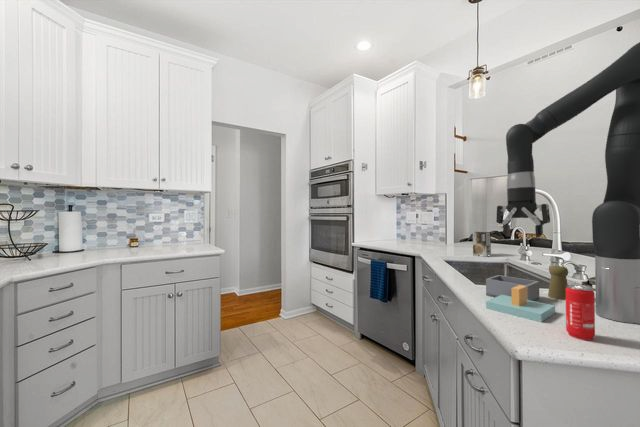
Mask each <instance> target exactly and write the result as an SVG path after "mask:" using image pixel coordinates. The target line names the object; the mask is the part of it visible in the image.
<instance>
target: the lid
mask: <svg viewBox="0 0 640 427" xmlns="http://www.w3.org/2000/svg"><path fill="white" fill-rule="evenodd" d="M511 292H512V297H511V296H506V295H500V296H497V297H492V298H491V299H487V300H486V301H485V308H486V309H488V310H492V311H497V312H501V313H504V314H508V315H512V316H517V317H520V318H524V319H528V320H531V321H535V322H540V323H542V322H543V321H545V320H547V319H548V318H550V317H551V316H553V315H554V314H555V313H556V305H552V304H548V303H544V302H539V301H530V300H527V286H522V285H518V286H516V287H513V288H511Z"/></svg>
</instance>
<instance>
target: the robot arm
mask: <svg viewBox="0 0 640 427" xmlns="http://www.w3.org/2000/svg"><path fill="white" fill-rule="evenodd" d="M614 91H615V102H614V107H613V111H612V115H611V119H610V121H609V126H608V127H609V128H608V132H607V135H606V136H607V138H606V144H605V149H604V161H605V170H606V179H607V180H606V181H607V184H606V190H605V194H604V198H603V201H602V203H601V204H598V206H596V207H595V208H594V210H593V212H592V217H591V218H592V219H591V230H592V245H593V247H594V254H595V255H594V257H595V260H594V261H595V262H594V263H595V264H594V265H595V267H594V268H595V271H594V272H595V274H594V276H595V279H594V280H595V315H597V316H599V317H602V318H604V319H608V320H612V321H616V322H622V323H632V324H637V325H640V41H639V42H638V43H636V44H634V45H633V46H632V47H630V48H629V49H628V50H627V51H626V52H624V54H622V55H621V56H619V58H618V59H616V60H615V61H613V62H612V63H611V64H610V65H608V66H607V67H606V68H604V69H603V70H602V71H600V72H599V73H597V74H596V75H595V76H593V77H591V78H590V79H589V80H588V81H586V82H584V83H583V84H581V85H580V86H578V87H576V88H575V89H573V90H572V91H570V92H569V93H566V94H565V95H564V96H562V97H561V98H559V99H557V100H556V101H554V102H553V103H551V104H549V105H547V106H546V107H544V108H543V109H542V110H540V111H539V112H538V113H536V115H535V116H534V117H533V118H532V119H531V120H528V121H527V122H526V123H518V124H517V123H516V124H515V125H513V126H511V127H510V128H509V129H508V130H507V132H506V135H505V144H506V152H507V167H506V168H507V179H506V192H507V193H506V196H507V205H497V206H496V219H495V220H496V223H497V224H501V225H502V231H503V232H502V233H503V235H504V236H505V237H510V236H511V224H510V223H511V222H512V220H514V219H521V218H522V219H530V220H531V221H532V222H534V224H535V238H541V236H543V234H544V229H543V226H544V225H545V224H549V223H550V222H551V217H550V216H551V215H550V207H549V206H550V205H549V204H548V203H542V204H537V202H536V198H537V197H536V178H535V166H534V162H535V161H534V156H533V144H534V143H535V142H537V141H538V140H540V139H541V138H543V137H544V136H545V135H547V134H548V133H550V132H551V131H553V130H554V129H555V130H556V129H557V128H558V127H561V126H562V125H564V124H566V123H567V122H569V121H570V120H572V119H574V118H575V117H577V116H578V115H579V114H581V113H583V112H585V111H586V110H587V109H588V108H590V107H592V106H593V105H595V104H596V103H597V102H599V101H600V100H602V99H603V98H605V97H606V96H607V95H610V94H611V93H612V92H614ZM537 209H538V210H539V212H541V218H542V219H540V218H539V216H538V215H537V214H536V213H535V212H536V211H537ZM506 210H507V212H508V214H507V215H506V217H505V219H504V213H505V212H506Z"/></svg>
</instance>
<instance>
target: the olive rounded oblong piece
mask: <svg viewBox="0 0 640 427" xmlns="http://www.w3.org/2000/svg"><path fill="white" fill-rule="evenodd" d="M548 273H549V274H550V280H549V285H548V286H549V287H548V292H547V293H548V294H547V297H549V298H551V299H554V300H560V301H566V288H567V285H569V284H568V280H567V279H568V278H567V276H568V275H569V269H568V267H566V266H562V265H552V266H549V268H548Z"/></svg>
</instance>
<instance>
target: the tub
mask: <svg viewBox="0 0 640 427" xmlns="http://www.w3.org/2000/svg"><path fill="white" fill-rule="evenodd" d="M518 285H522V286H527V300H530V301H535V302H537V300H539V299H540V281H539V280H538V281H537V280H533V279H526V278H519V277H513V276H508V275H501V274H500V275H499V274H497V275H495V276H494V275H493V276H491V277H488V278H485V295H486V296H488V297H492V298H495V297H497V296H500V295H506V296H511V297H512V292H511V288H513V287H516V286H518Z"/></svg>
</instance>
